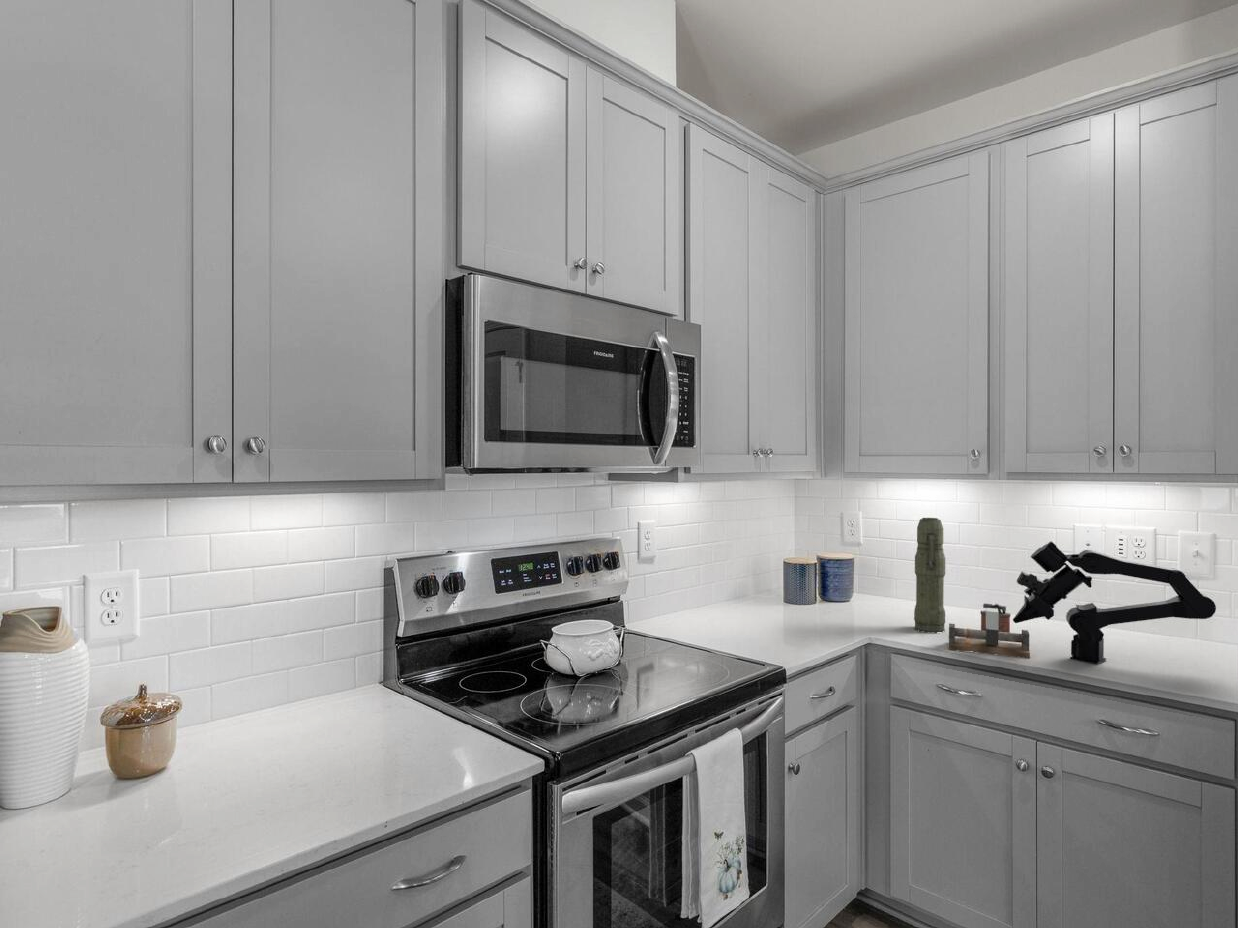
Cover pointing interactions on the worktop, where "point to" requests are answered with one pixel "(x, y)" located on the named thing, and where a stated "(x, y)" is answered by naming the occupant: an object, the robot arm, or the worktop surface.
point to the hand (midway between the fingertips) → (1013, 621)
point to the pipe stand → (981, 646)
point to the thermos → (929, 576)
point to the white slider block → (992, 626)
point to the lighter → (1003, 618)
